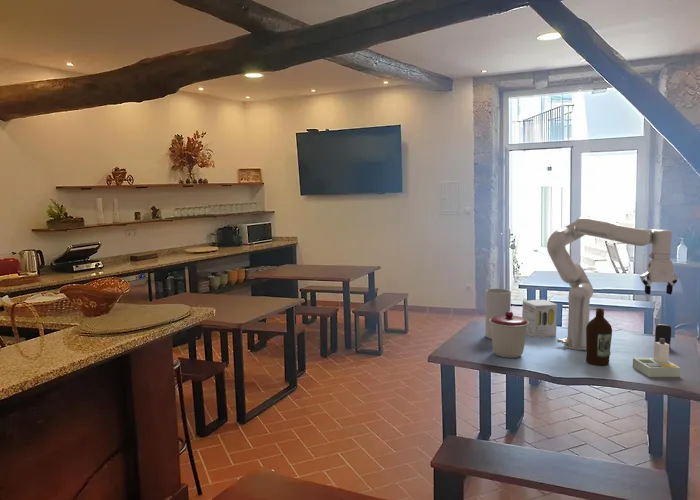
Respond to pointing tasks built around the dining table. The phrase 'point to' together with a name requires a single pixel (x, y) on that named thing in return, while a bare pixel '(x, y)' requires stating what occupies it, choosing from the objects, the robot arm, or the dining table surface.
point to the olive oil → (598, 340)
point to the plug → (661, 351)
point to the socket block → (656, 368)
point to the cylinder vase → (496, 306)
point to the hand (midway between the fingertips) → (658, 294)
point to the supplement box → (540, 318)
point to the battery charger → (663, 333)
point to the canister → (508, 334)
